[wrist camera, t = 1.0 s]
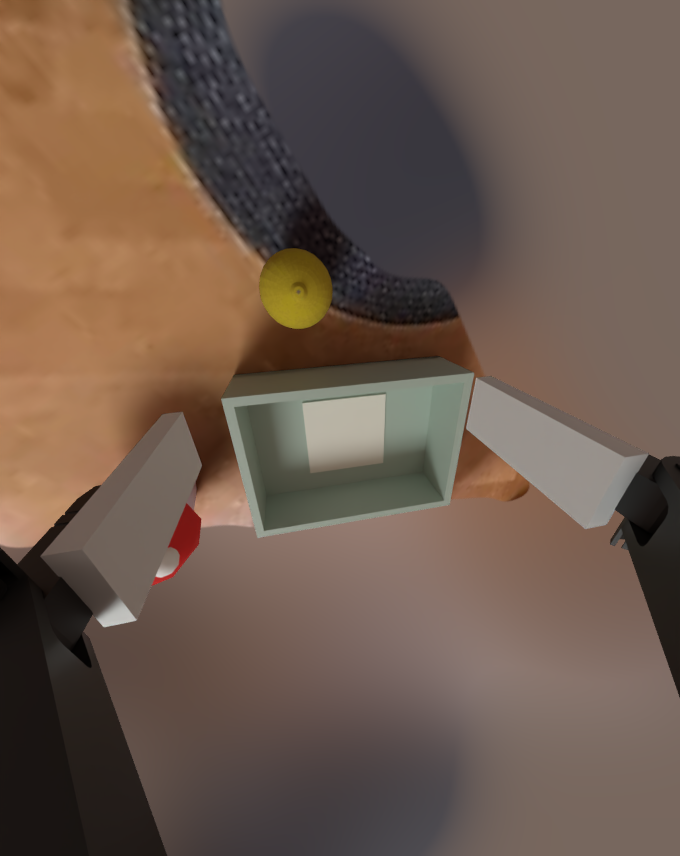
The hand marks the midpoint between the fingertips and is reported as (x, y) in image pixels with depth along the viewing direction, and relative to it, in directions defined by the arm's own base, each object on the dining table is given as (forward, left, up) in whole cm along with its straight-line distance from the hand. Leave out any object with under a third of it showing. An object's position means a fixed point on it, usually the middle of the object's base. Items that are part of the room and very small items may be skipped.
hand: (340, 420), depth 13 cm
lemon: (-5, -1, -17) cm, 18 cm away
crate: (+10, +3, -17) cm, 20 cm away
